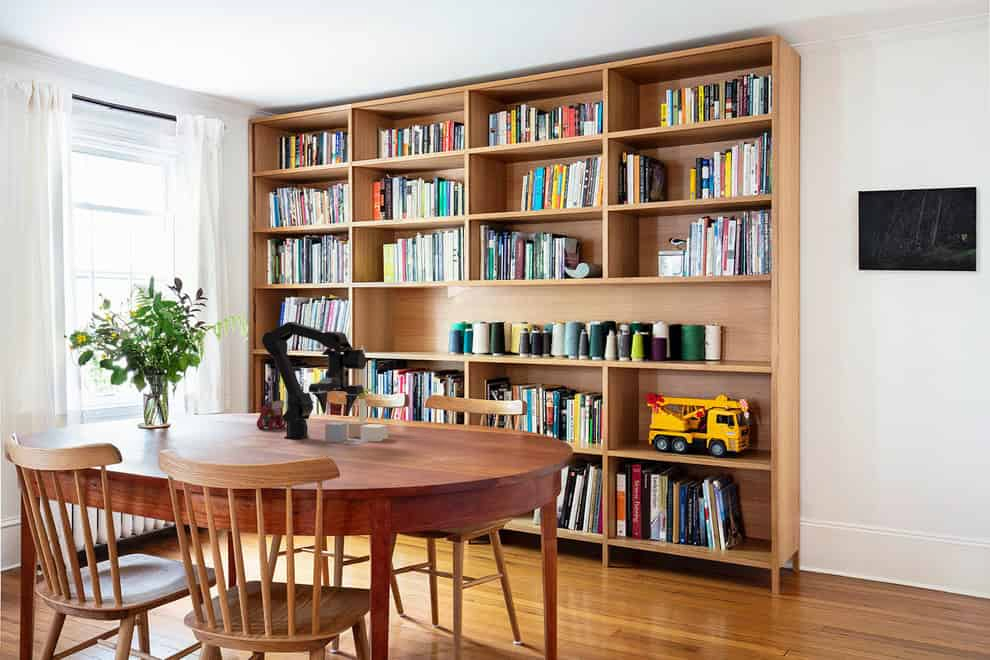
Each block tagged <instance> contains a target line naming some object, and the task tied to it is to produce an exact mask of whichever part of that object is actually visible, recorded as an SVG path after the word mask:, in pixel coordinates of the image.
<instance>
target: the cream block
mask: <svg viewBox="0 0 990 660" xmlns="http://www.w3.org/2000/svg"><path fill="white" fill-rule="evenodd" d="M388 427H389V426H388V424H374V423H369V424H366V425H365V426H361V438H360V440H367V441H369V442H377V441H379V442H381V440H382V441H384V440H383V439H385V440H387V439H386V438H388V434H389V431H388V429H389V428H388Z"/></svg>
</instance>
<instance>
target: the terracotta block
mask: <svg viewBox="0 0 990 660" xmlns="http://www.w3.org/2000/svg"><path fill="white" fill-rule="evenodd" d="M365 425H367V424H366V422H359V421H350V422H349V423H347V438H353V437H361V426H365Z"/></svg>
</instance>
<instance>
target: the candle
mask: <svg viewBox="0 0 990 660" xmlns="http://www.w3.org/2000/svg"><path fill="white" fill-rule="evenodd" d="M359 350H363V353H364V355H365V356H366V349H364V346H363V344H361V348H360V349H359ZM358 370H359V380H358V381H359V382H358V385H362V386H363V388H364V393H360V395H359V396H358V422H366V414H367V413H366V407H367V406H366V405H367V404H366V399H367V398H366V394H367V393H369V392H374V389H373V388H366V367H365V368H364V369H358Z"/></svg>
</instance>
